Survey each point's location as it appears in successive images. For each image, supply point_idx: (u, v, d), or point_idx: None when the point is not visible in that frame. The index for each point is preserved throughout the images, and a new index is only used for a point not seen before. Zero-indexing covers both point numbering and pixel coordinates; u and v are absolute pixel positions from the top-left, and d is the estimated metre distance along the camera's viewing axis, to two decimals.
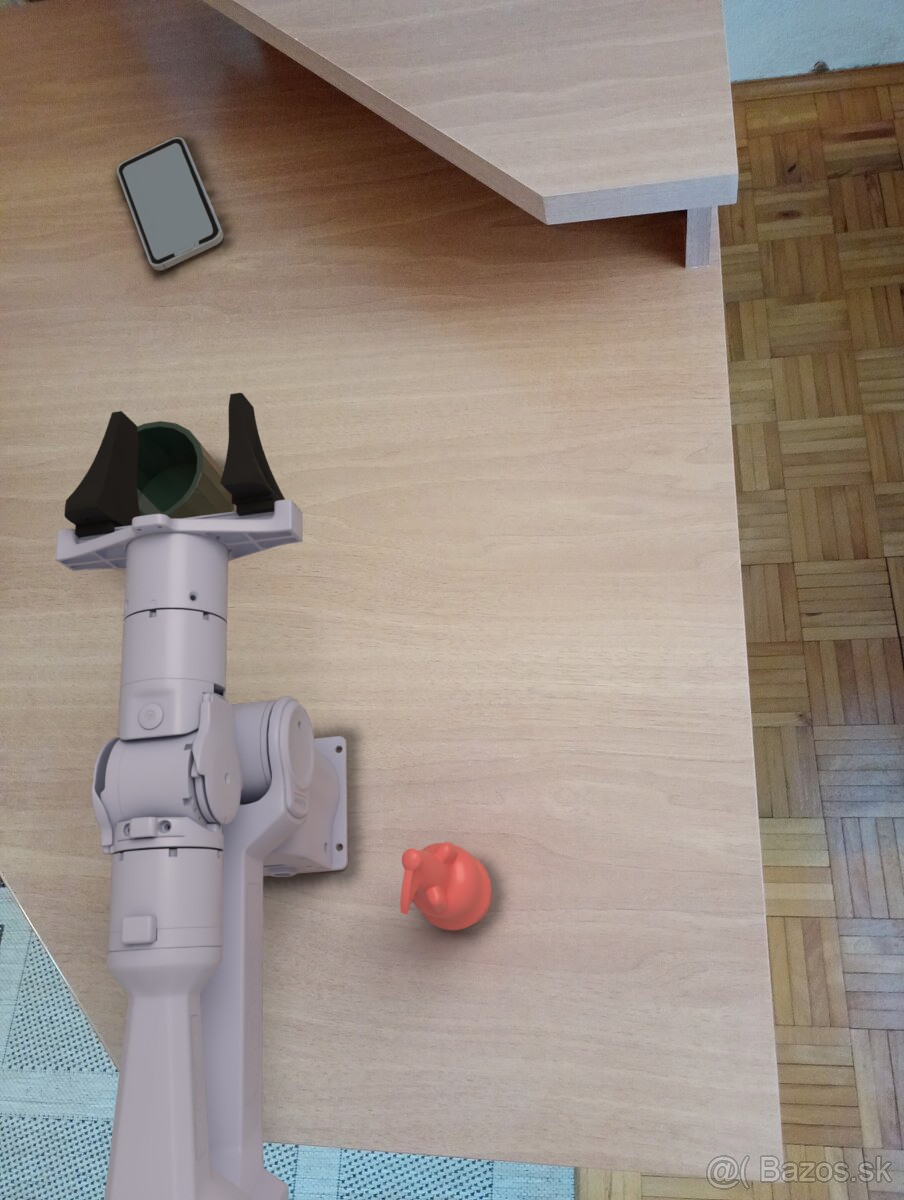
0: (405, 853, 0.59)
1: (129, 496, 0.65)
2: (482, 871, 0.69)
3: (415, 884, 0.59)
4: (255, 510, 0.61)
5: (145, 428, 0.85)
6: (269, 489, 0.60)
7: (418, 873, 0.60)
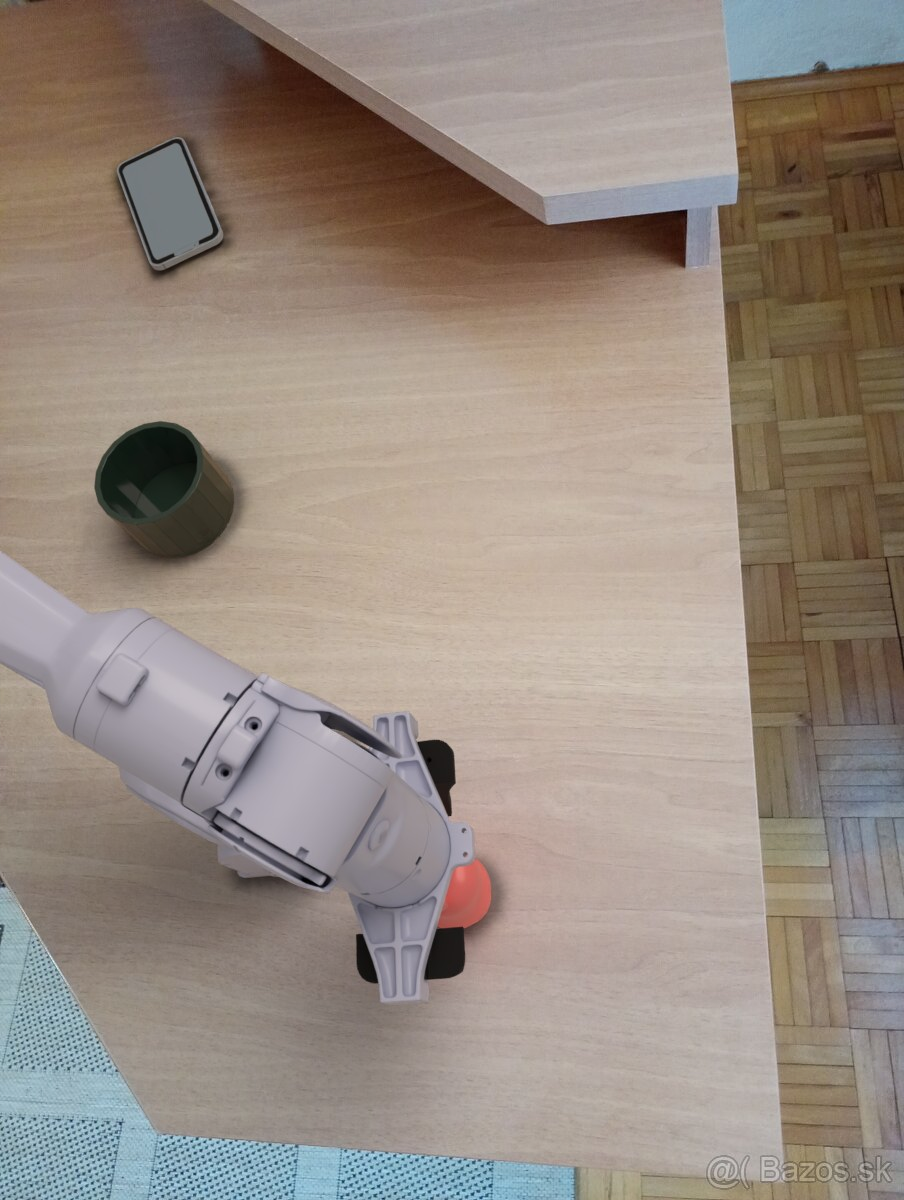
0: None
1: None
2: (482, 871, 0.69)
3: None
4: None
5: (145, 428, 0.85)
6: (440, 978, 0.54)
7: None
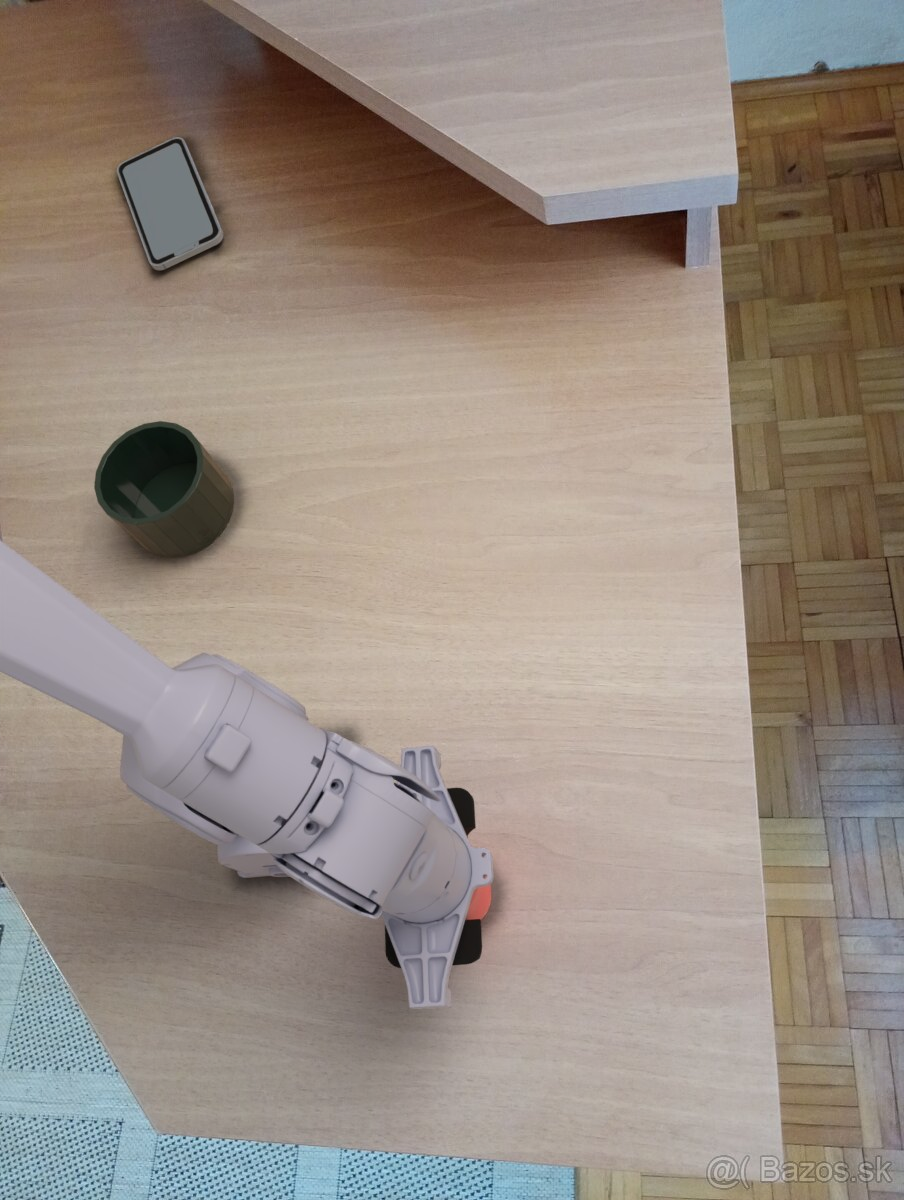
0: None
1: None
2: None
3: None
4: None
5: (145, 428, 0.85)
6: (459, 964, 0.61)
7: None
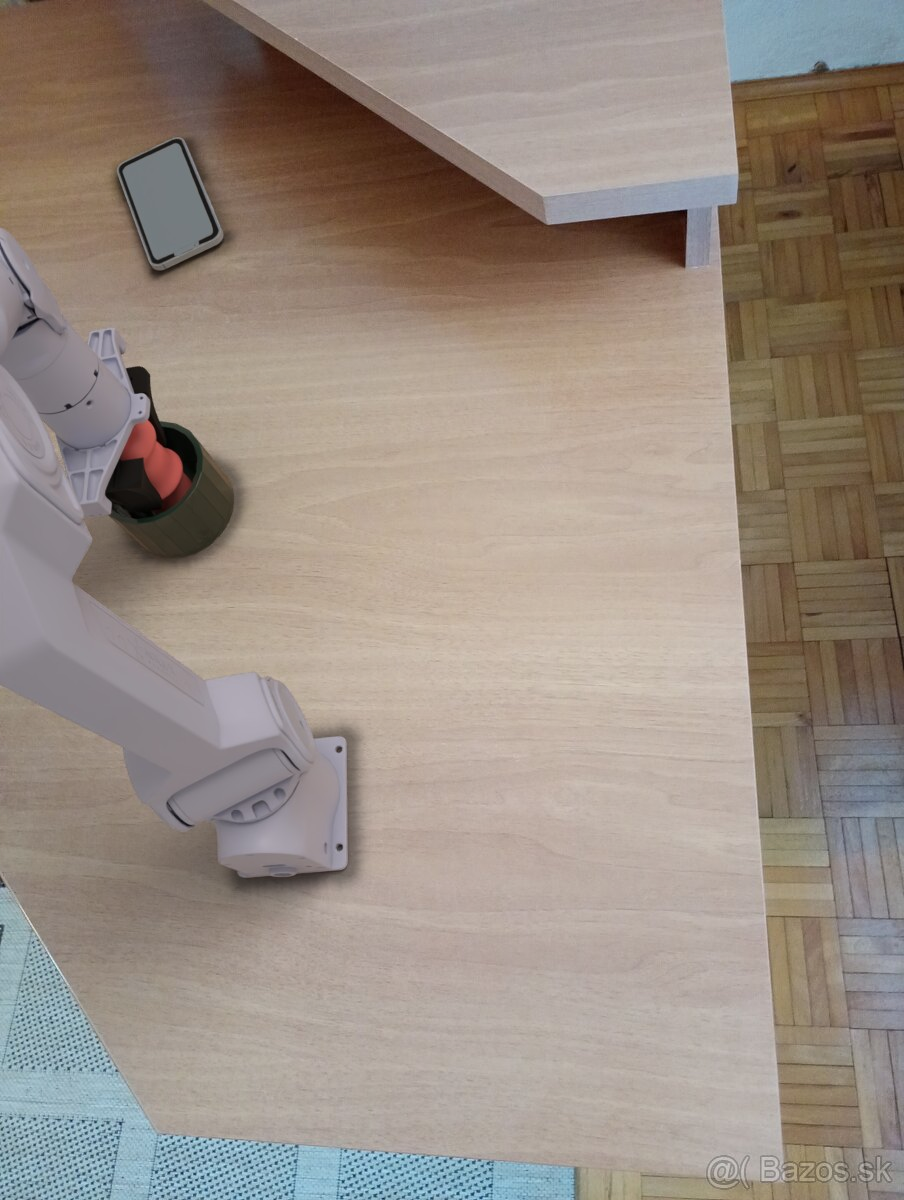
0: None
1: None
2: (175, 457, 0.83)
3: None
4: None
5: None
6: (123, 488, 0.75)
7: None
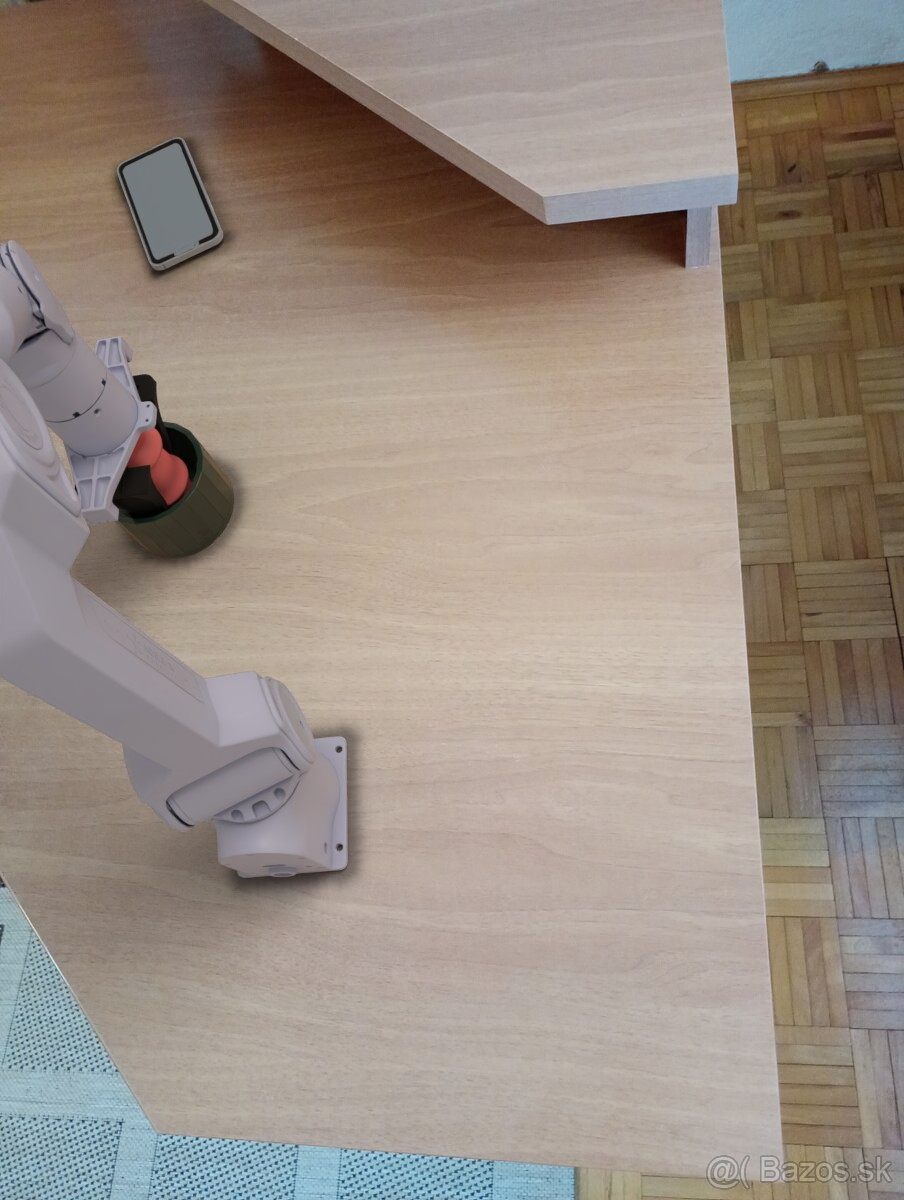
0: None
1: None
2: (181, 464, 0.84)
3: None
4: None
5: None
6: (130, 495, 0.76)
7: None
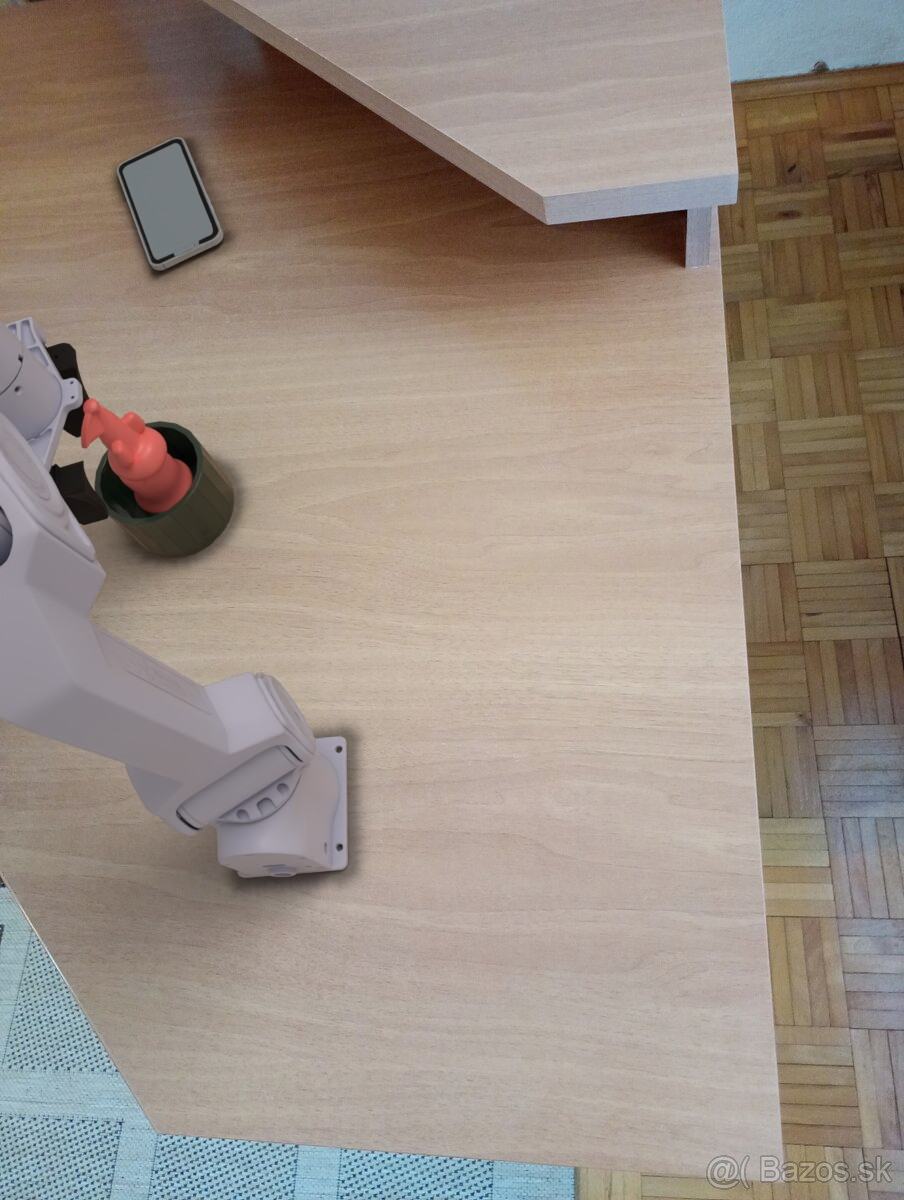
0: (85, 401, 0.75)
1: None
2: (185, 468, 0.85)
3: (96, 429, 0.76)
4: None
5: None
6: (66, 495, 0.70)
7: (99, 422, 0.76)
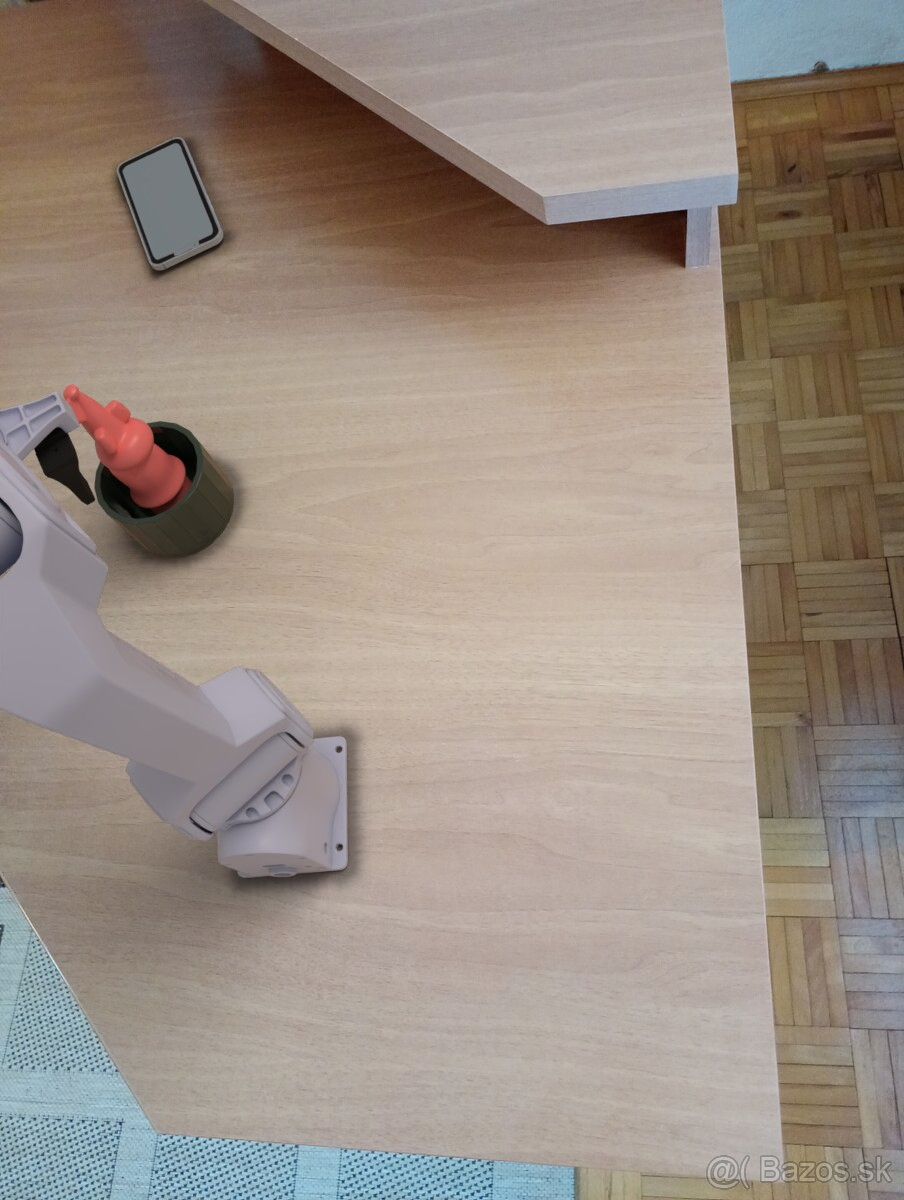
0: None
1: None
2: (178, 463, 0.85)
3: (76, 415, 0.76)
4: None
5: None
6: None
7: (80, 409, 0.76)
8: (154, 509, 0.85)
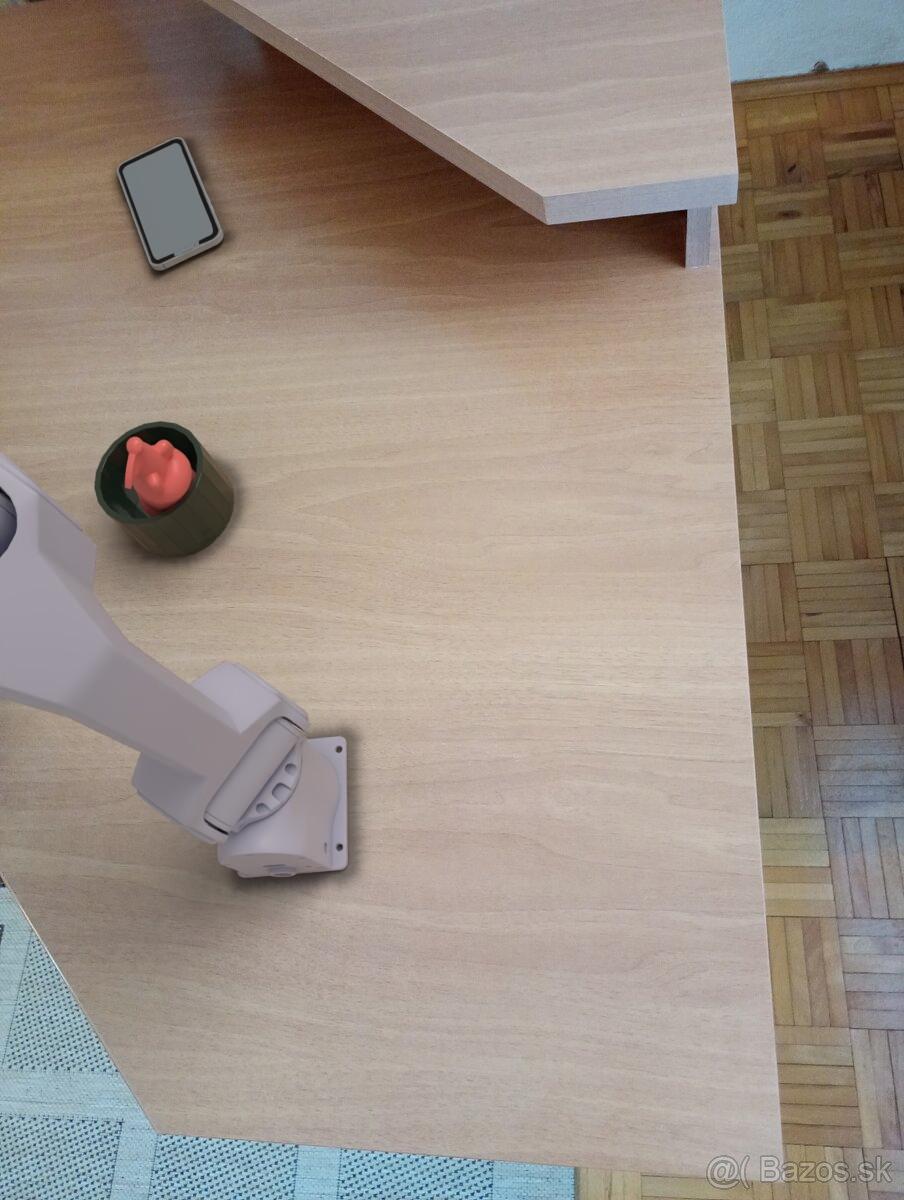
0: (129, 440, 0.73)
1: None
2: (194, 476, 0.84)
3: (137, 466, 0.74)
4: None
5: (145, 428, 0.85)
6: None
7: (140, 459, 0.74)
8: None
